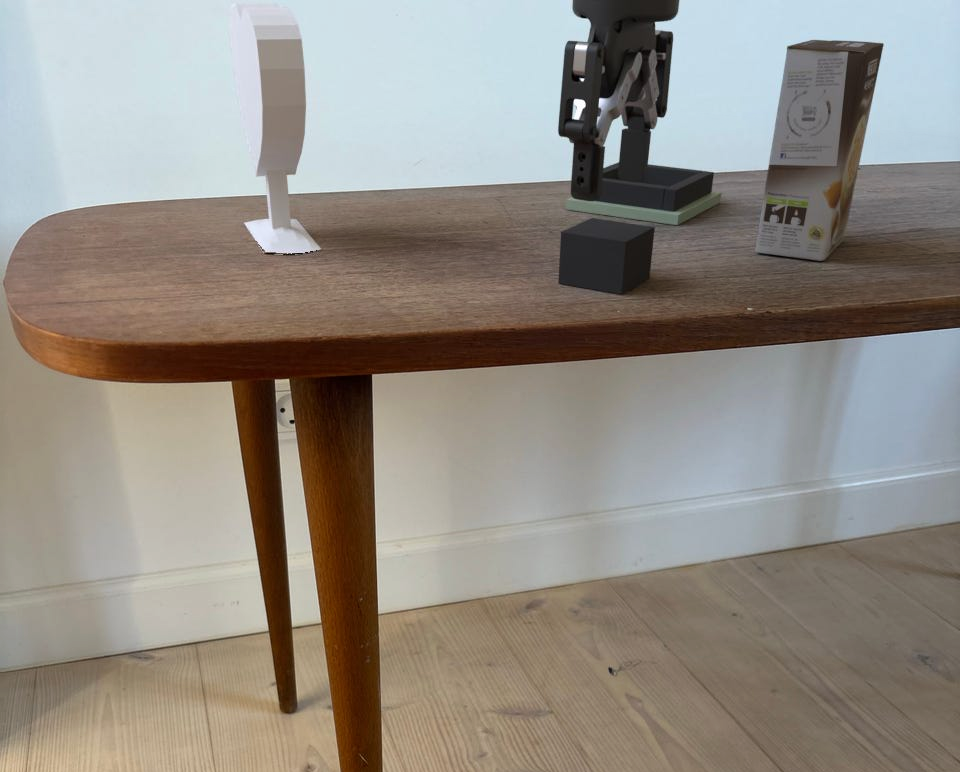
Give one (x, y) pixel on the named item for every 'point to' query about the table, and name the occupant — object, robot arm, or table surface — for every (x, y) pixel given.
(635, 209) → the base pad
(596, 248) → the black block
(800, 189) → the coffee box
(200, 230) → the table surface
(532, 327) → the table surface
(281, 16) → the heart sculpture
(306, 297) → the table surface
